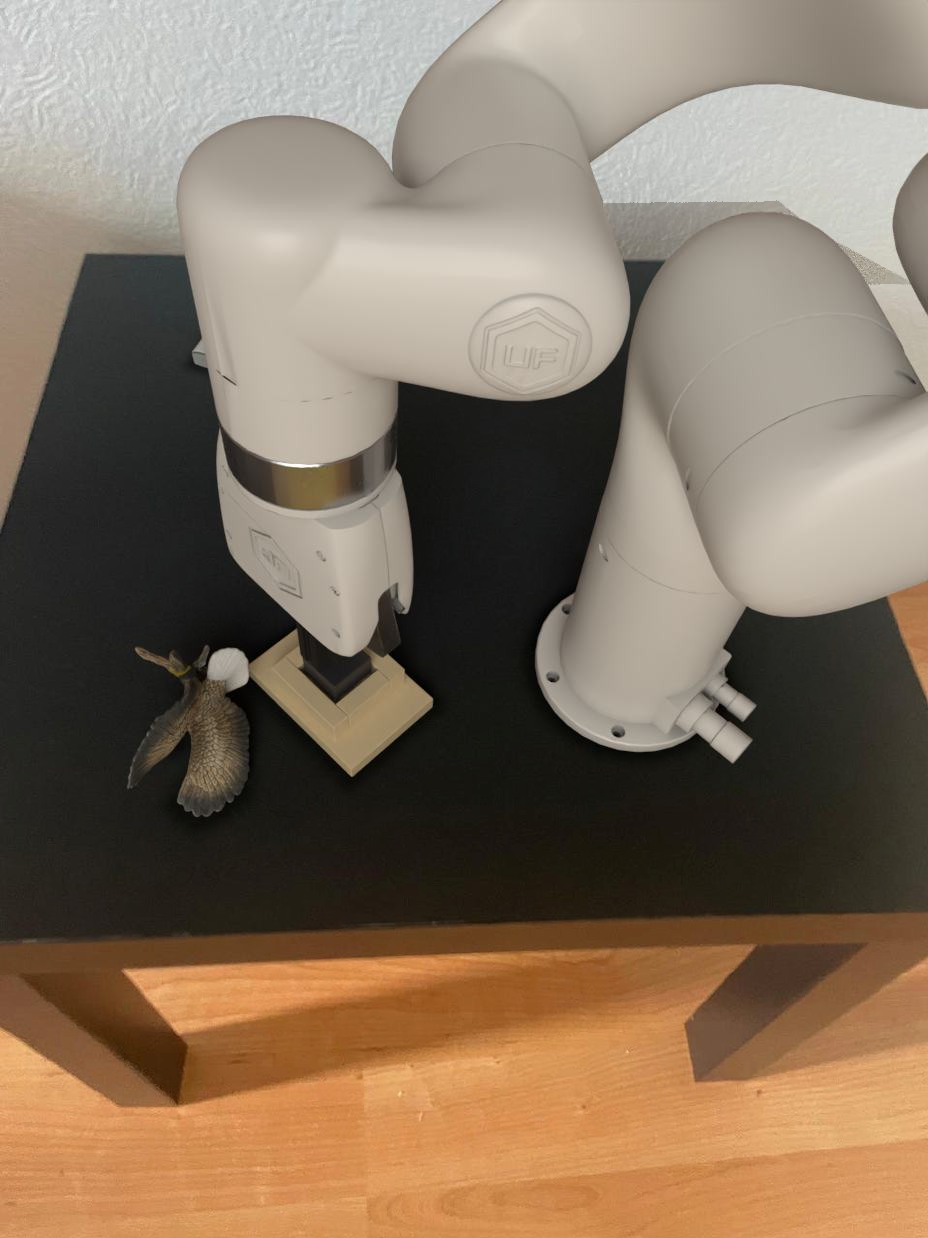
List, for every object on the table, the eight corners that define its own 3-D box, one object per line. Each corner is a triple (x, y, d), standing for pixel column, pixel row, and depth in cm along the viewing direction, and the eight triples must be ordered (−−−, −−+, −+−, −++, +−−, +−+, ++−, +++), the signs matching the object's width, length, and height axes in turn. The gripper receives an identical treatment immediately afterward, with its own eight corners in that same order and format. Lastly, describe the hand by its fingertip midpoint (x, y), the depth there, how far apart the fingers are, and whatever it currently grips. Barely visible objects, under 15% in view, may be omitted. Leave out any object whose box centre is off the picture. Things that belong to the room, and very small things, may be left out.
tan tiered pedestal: (432, 707, 59) (434, 684, 57) (352, 777, 56) (349, 757, 54) (329, 613, 63) (327, 588, 60) (248, 675, 60) (241, 651, 57)
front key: (372, 671, 57) (371, 657, 56) (336, 701, 56) (334, 687, 55) (340, 642, 58) (338, 627, 57) (303, 670, 57) (301, 656, 56)
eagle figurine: (111, 686, 57) (101, 809, 51) (154, 612, 54) (149, 735, 48) (226, 713, 61) (230, 829, 55) (274, 645, 58) (283, 762, 52)
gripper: (134, 380, 41) (201, 609, 56) (363, 582, 36) (368, 773, 51) (267, 308, 44) (296, 544, 59) (494, 484, 39) (462, 691, 54)
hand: (330, 649), depth 55 cm, fingers closed
